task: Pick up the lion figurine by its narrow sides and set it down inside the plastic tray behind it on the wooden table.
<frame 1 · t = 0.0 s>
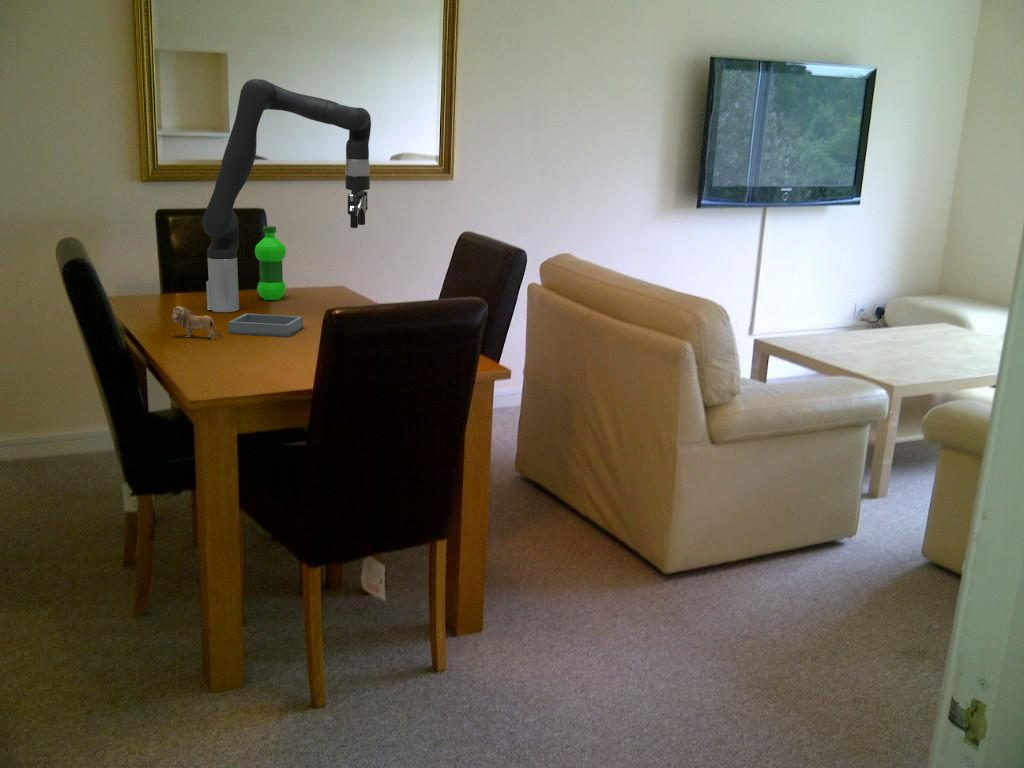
hand: (357, 226, 326), 29 cm above the table, tool pointing down, fingers open, 8 cm apart
plastic bottle: (271, 299, 359), on the table
lion figurine: (196, 338, 300), on the table
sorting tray: (266, 330, 312), on the table
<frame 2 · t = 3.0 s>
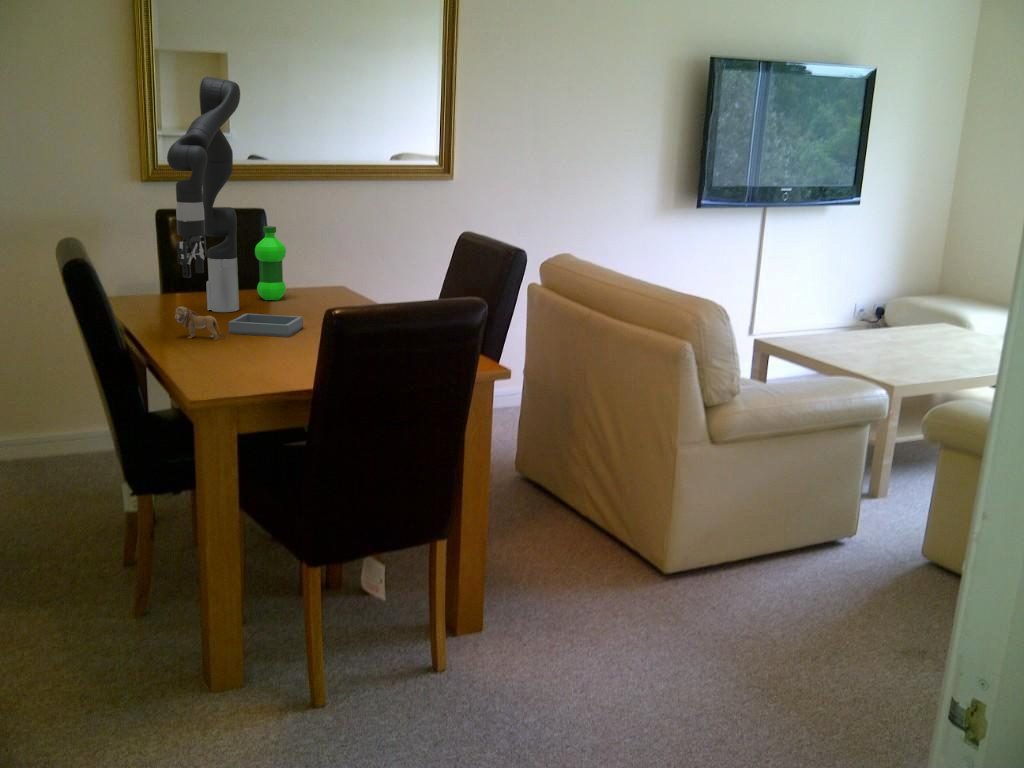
hand: (193, 275, 295), 18 cm above the table, tool pointing down, fingers open, 8 cm apart
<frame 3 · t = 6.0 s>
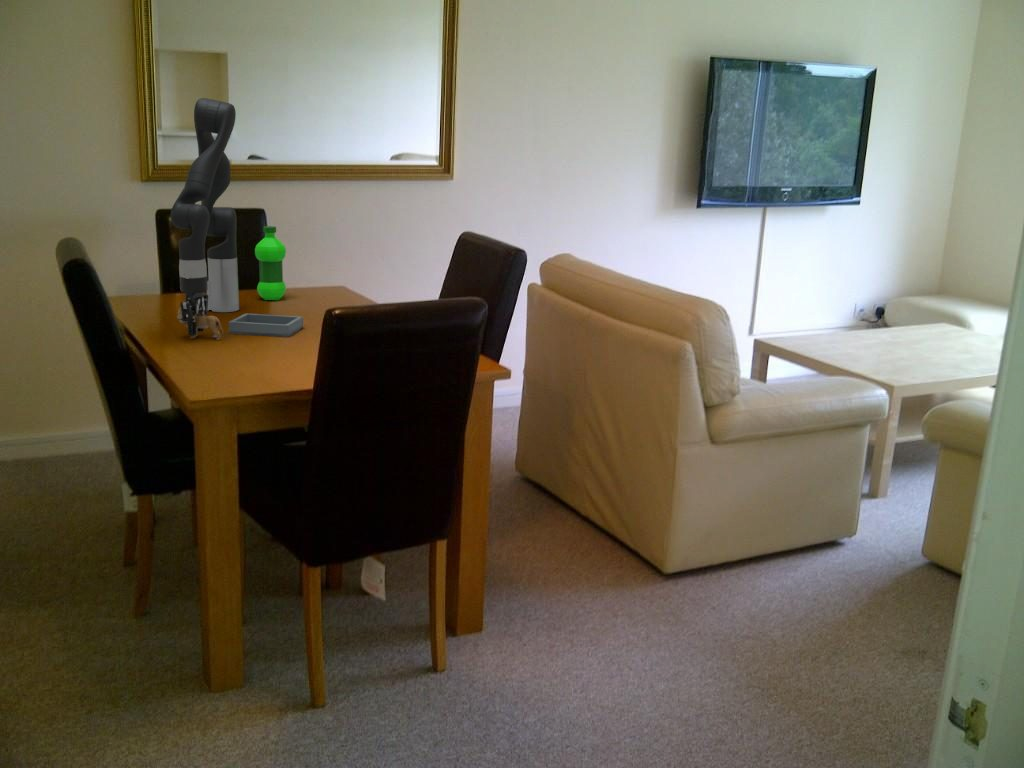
hand: (196, 332, 300), 1 cm above the table, tool pointing down, fingers closed on lion figurine, 4 cm apart
lion figurine: (201, 338, 300), on the table, touching gripper
everything else where it was.
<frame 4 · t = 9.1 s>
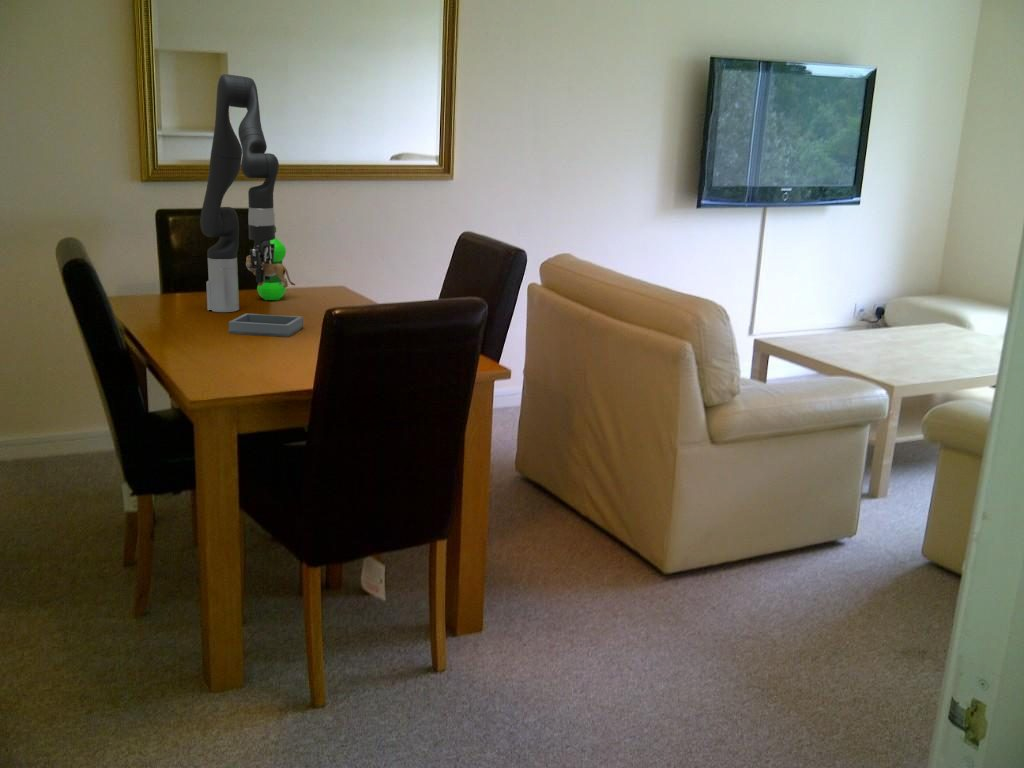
hand: (263, 280, 307), 15 cm above the table, tool pointing down, fingers closed on lion figurine, 4 cm apart
lion figurine: (269, 286, 307), point 14 cm above the table, touching gripper
everything else where it was.
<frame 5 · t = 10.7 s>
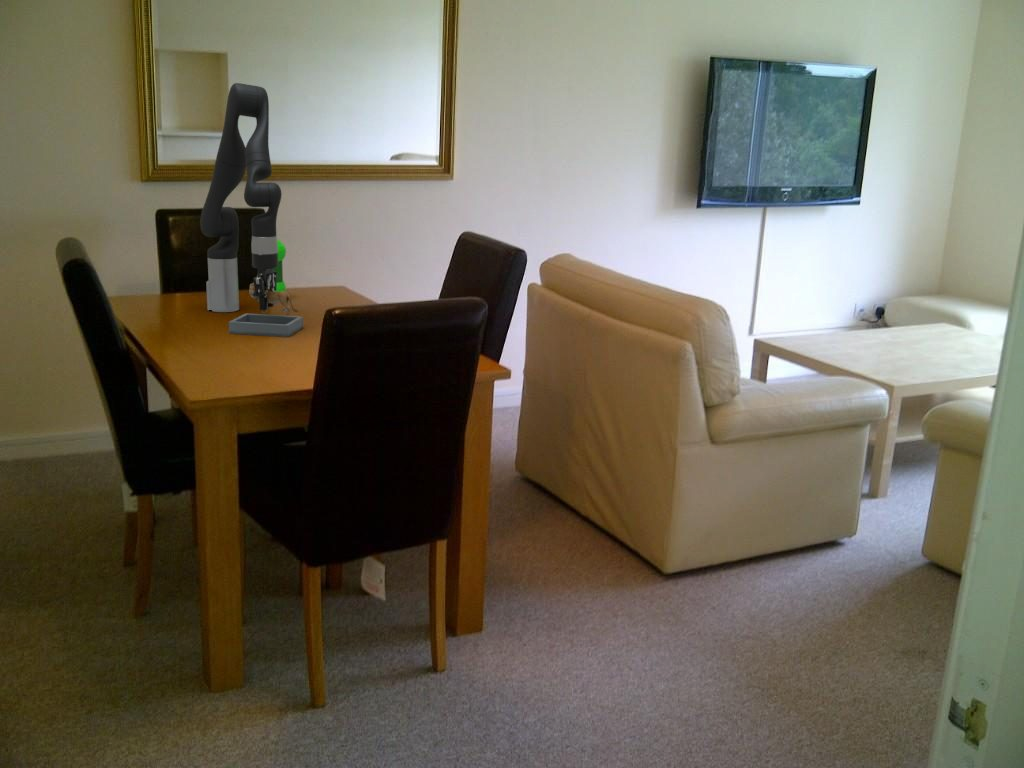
hand: (266, 308, 310), 7 cm above the table, tool pointing down, fingers closed on lion figurine, 4 cm apart
lion figurine: (272, 313, 310), point 5 cm above the table, touching gripper
everything else where it was.
when the fingers open (4 cm above the table, at t = 12.2 s): lion figurine drops 1 cm, resting on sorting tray.
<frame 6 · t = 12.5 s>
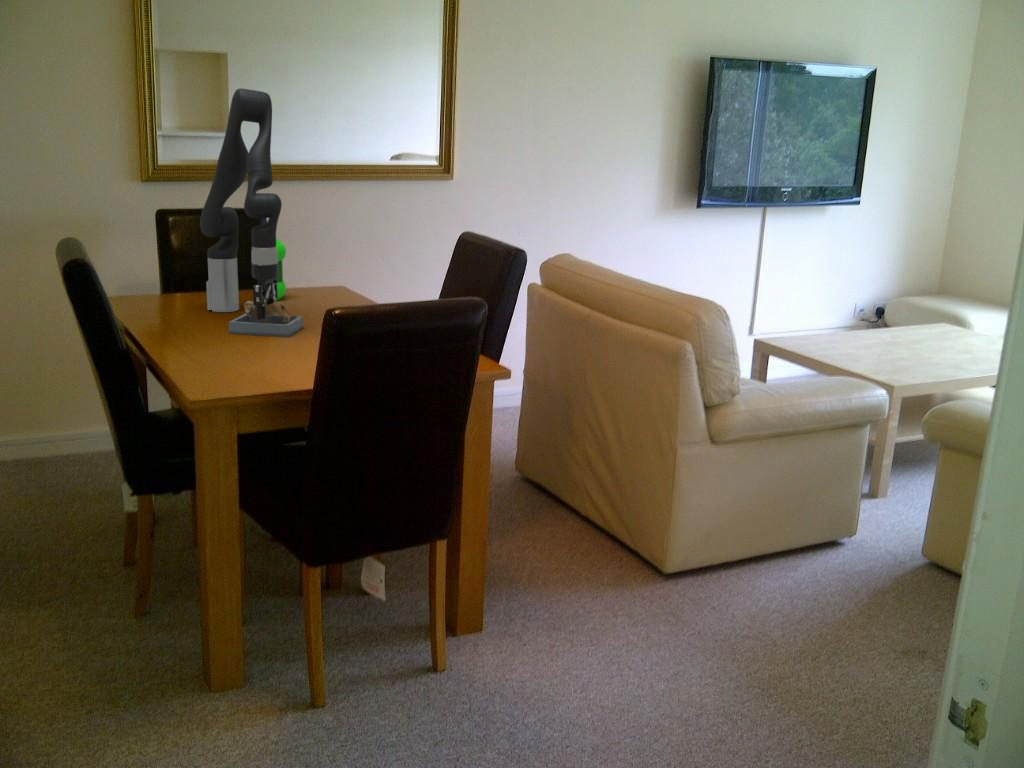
hand: (266, 316, 310), 4 cm above the table, tool pointing down, fingers open, 7 cm apart
lion figurine: (273, 326, 310), point 2 cm above the table, touching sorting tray
everything else where it was.
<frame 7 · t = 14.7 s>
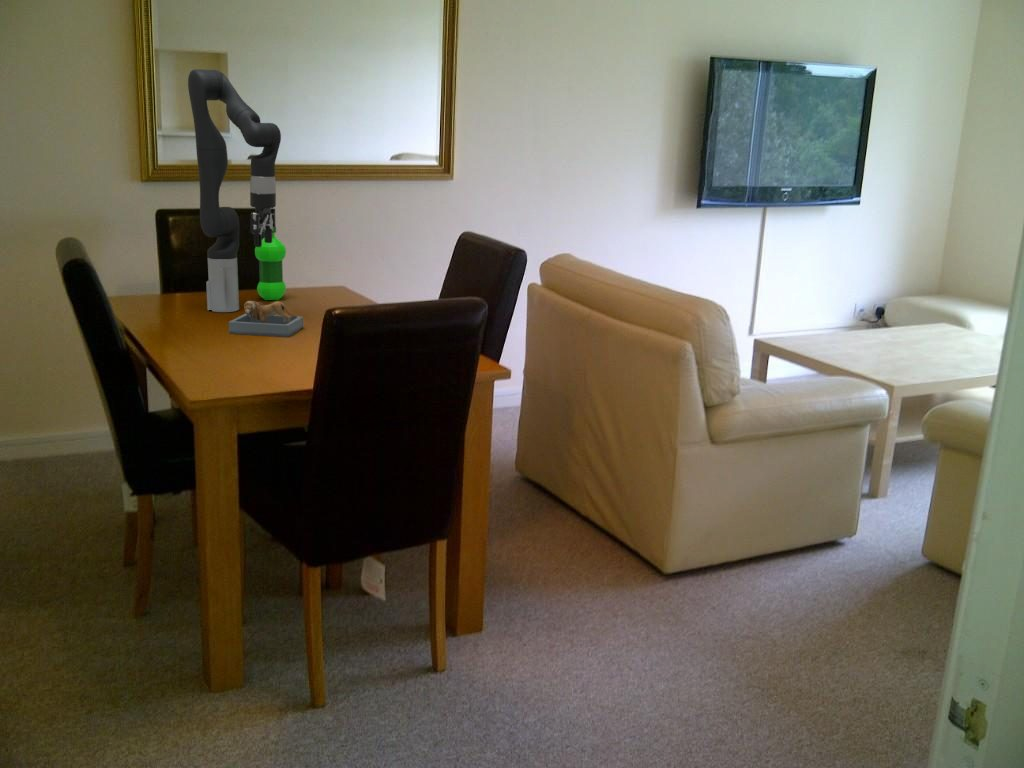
hand: (263, 244, 316), 24 cm above the table, tool pointing down, fingers open, 8 cm apart
nothing on the table moved.
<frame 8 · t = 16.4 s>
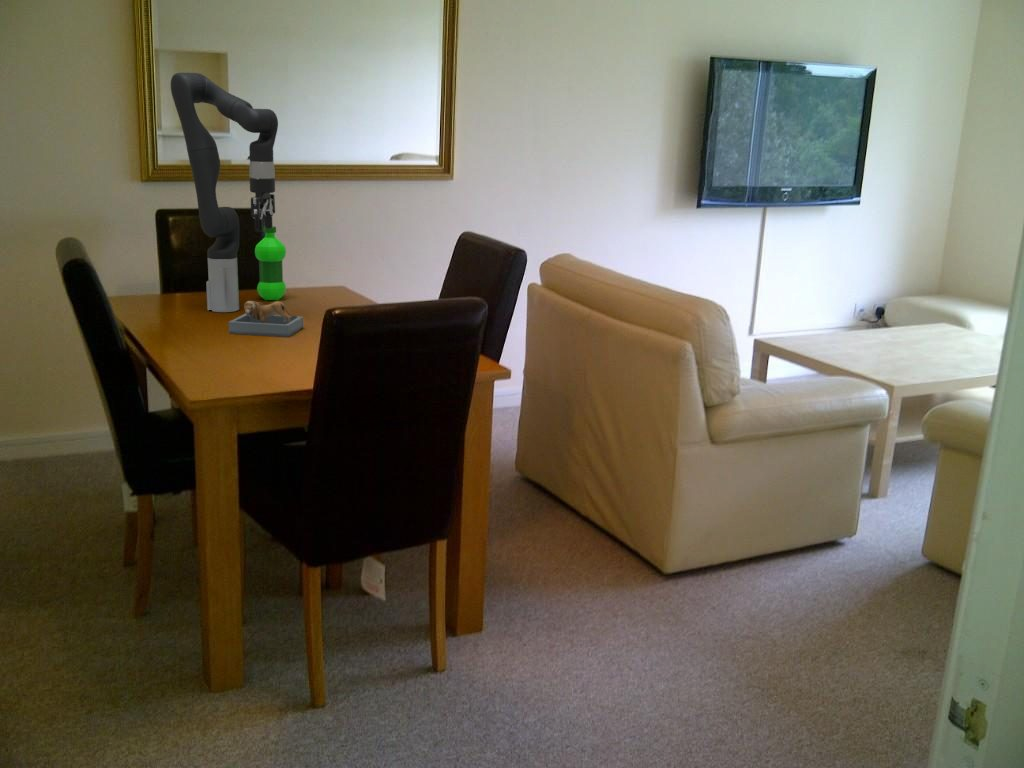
hand: (263, 229, 320), 28 cm above the table, tool pointing down, fingers open, 8 cm apart
nothing on the table moved.
at the end: lion figurine inside the target area on the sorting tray (2.3 cm from its centre), point 1.6 cm above the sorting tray's base; the gripper is holding nothing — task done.
